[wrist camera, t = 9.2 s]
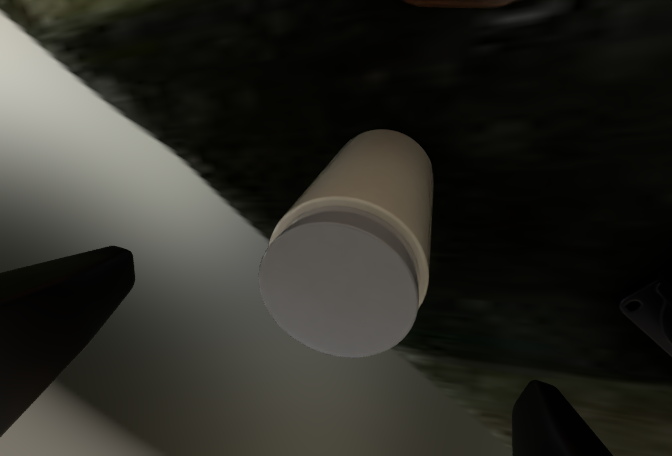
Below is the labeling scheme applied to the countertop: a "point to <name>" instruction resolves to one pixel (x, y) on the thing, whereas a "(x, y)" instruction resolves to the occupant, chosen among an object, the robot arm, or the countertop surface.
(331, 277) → the cylinder
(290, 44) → the countertop surface
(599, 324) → the countertop surface
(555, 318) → the countertop surface
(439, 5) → the bowl
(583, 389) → the countertop surface
